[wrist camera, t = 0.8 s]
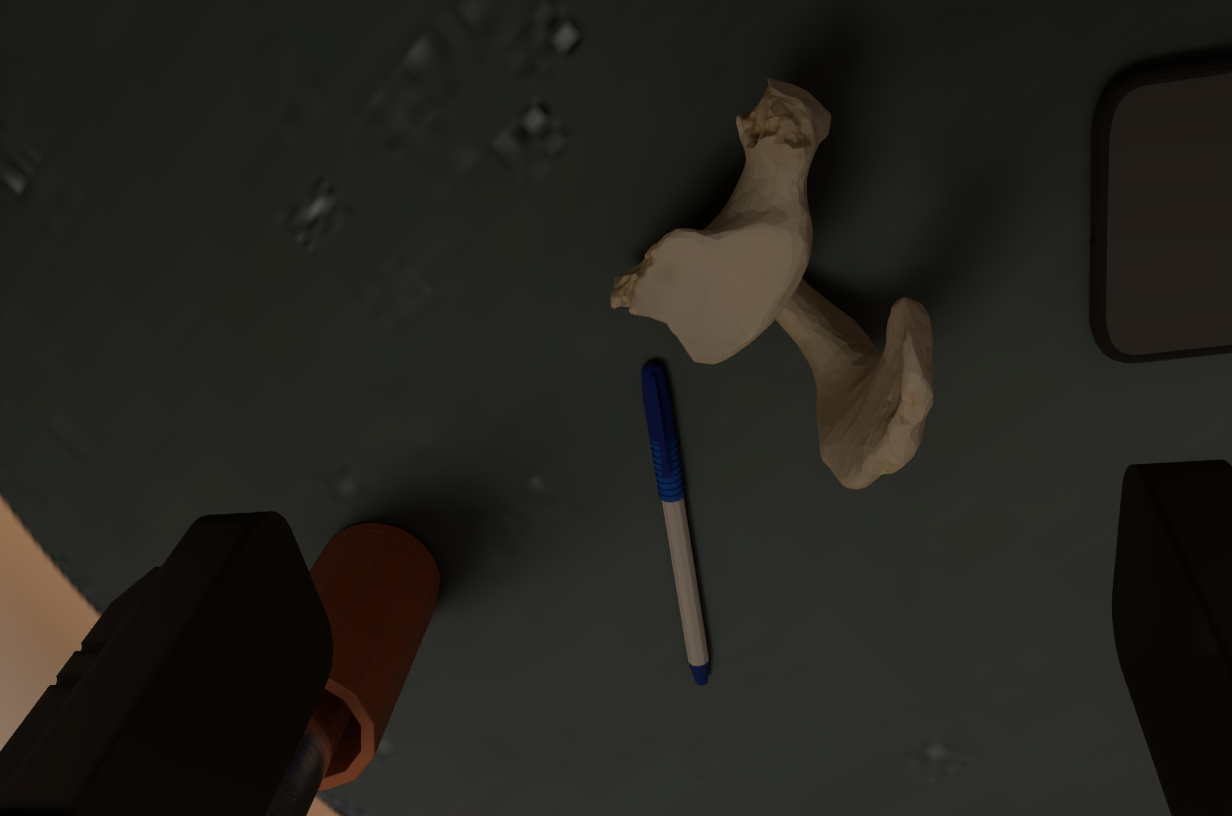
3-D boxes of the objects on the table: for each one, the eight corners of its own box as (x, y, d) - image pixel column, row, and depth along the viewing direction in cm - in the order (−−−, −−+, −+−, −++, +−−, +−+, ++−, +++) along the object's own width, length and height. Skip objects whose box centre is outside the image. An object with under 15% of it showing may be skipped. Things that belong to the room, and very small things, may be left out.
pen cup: (297, 546, 33) (196, 696, 26) (402, 505, 32) (323, 649, 26) (359, 641, 34) (277, 806, 28) (462, 604, 33) (402, 765, 27)
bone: (526, 112, 25) (768, 166, 17) (754, 37, 27) (1069, 52, 19) (608, 428, 29) (839, 600, 21) (803, 341, 31) (1084, 466, 23)
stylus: (329, 568, 32) (92, 961, 20) (387, 545, 32) (181, 934, 20) (364, 621, 33) (155, 1033, 21) (421, 600, 33) (243, 1008, 20)
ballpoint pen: (631, 361, 30) (629, 375, 29) (663, 356, 30) (662, 370, 29) (693, 675, 34) (692, 695, 33) (721, 672, 34) (721, 693, 33)
